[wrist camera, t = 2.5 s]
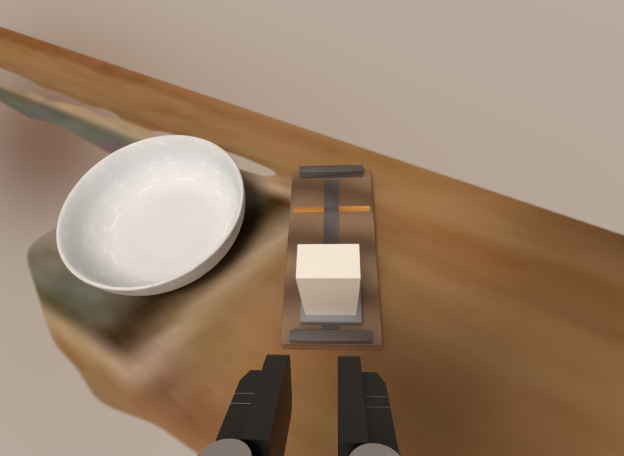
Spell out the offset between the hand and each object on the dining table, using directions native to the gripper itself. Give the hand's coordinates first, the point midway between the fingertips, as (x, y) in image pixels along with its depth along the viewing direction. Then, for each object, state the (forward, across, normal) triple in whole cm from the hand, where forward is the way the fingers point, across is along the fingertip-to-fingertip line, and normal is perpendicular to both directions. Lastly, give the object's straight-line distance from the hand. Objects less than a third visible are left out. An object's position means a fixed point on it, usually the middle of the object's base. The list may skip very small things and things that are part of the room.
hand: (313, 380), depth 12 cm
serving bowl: (+33, +20, +4) cm, 39 cm away
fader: (+24, 0, +9) cm, 26 cm away
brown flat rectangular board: (+31, 0, +6) cm, 31 cm away
